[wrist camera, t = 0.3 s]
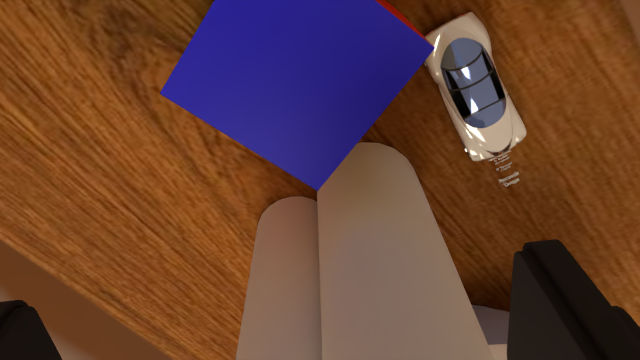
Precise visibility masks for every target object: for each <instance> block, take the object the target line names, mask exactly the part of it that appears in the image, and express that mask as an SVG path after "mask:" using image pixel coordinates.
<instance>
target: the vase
mask: <svg viewBox="0 0 640 360" xmlns="http://www.w3.org/2000/svg"><path fill="white" fill-rule="evenodd" d="M236 360H494V358H493V355H492V353H491V350H490V348H489V346H488V343H487V341H486V339H485V336H484V334H483V332H482V329H481V327H480V324H479V322H478V320H477V317H476V315H475V313H474V310H473V308H472V305H471V303H470V301H469V298H468V296H467V294H466V291H465V289H464V286H463V284H462V282H461V279H460V277H459V275H458V272H457V270H456V267H455V265H454V263H453V260H452V258H451V256H450V253H449V251H448V248H447V246H446V244H445V241H444V239H443V237H442V234H441V232H440V229H439V227H438V225H437V222H436V220H435V218H434V215H433V213H432V211H431V208H430V206H429V203H428V201H427V199H426V196H425V194H424V192H423V189H422V187H421V184H420V182H419V180H418V177H417V175H416V173H415V170H414V168H413V167H412V165H411V164H410V162H409V161H408V159H407V158H406V157H405V156H404V155H402V154H401V153H400V152H398V151H397V150H396V149H394V148H392V147H389V146H386V145H383V144H381V143H369V142H361V143H357V144H356V145H355V146H354V148H353V149H352V150H351V151H350V153H349V154H348V155H347V156H346V157H345V159H344V160H343V161H342V162H341V163H340V165H339V166H338V167H337V168H336V170H335V171H334V172H333V173H332V174H331V176H330V177H329V178H328V179H327V181H326V182H325V183H324V184H323V185H322V187H321V188H320V189H319V190H318V191H317V202H316V201H314V200H313V199H310V198H306V197H302V196H295V197H287V198H284V199H281V200H278V201H276V202H275V203H273V204H272V205H270V206H269V207H268V208H267V209H266V210H265V211H264V212H263V214H262V215H261V218H260V220H259V222H258V227H257V233H256V239H255V245H254V251H253V257H252V263H251V269H250V275H249V281H248V287H247V294H246V300H245V306H244V312H243V318H242V324H241V330H240V336H239V342H238V348H237V354H236Z"/></svg>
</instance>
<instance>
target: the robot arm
mask: <svg viewBox="0 0 640 360" xmlns="http://www.w3.org/2000/svg"><path fill="white" fill-rule="evenodd" d="M0 360H62V358H61V356H60V354H59V353H58V351H57V349H56V347H55V345H54V343H53V341H52V340H51V337H50V336H49V334H48V332H47V330H46V328H45V326H44V324H43V322H42V321H41V319H40V317H39V315H38V313H37V311H36V310H35V308H33V307H30V306H28V305H27V303H26V302H24V301H22V300H14V301H6V302H0ZM507 360H640V327H639V326H638V325H637V324H636V322H635V321H634V320H633V319H632V317H631V316H630V315H629V314H628V313H627V312H626V311H625V310H624V309H622V308H620V307H618V306H611V305H610V304H609V302H608V301H607V300H606V298H605V297H604V296H603V295H602V293H601V292H600V291H599V289H598V288H597V287H596V286H595V284H594V283H593V282H592V281H591V279H590V278H589V277H588V275H587V274H586V273H585V272H584V270H583V269H582V268H581V267H580V265H579V264H578V263H577V261H576V260H575V259H574V258H573V256H572V255H571V254H570V253H569V251H568V250H567V249H566V247H565V246H564V245H563V244H562V243H561V242H560V241H559V240H557V239H554V240H545V241H536V242H527V243H525V244H524V246H523V250H522V251H517V252H515V254H514V260H513V273H512V287H511V300H510V313H509V327H508V340H507Z"/></svg>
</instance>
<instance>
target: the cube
mask: <svg viewBox="0 0 640 360" xmlns="http://www.w3.org/2000/svg"><path fill="white" fill-rule="evenodd" d="M434 49H435V47H434V46H433V45H432V44H431V43H430V42H429V41H428V40H427V39H426V38H425V37H424V36H423V35H422V34H421V33H420V32H419V31H418V30H417V29H416V28H415V27H414V26H413V25H412V24H411V23H410V22H409V21H408V20H407V19H406V17H405V16H404V15H403V14H402V13H400V12H399V11H398V10H397V9H395V8H394V7H393V6H392V5H390V4H389V3H388V2H387V1H385V0H215V1H214V2H213V4H212V6H211V7H210V9H209V11H208V12H207V14H206V16H205V18H204V19H203V21H202V23H201V24H200V26H199V28H198V29H197V31H196V33H195V34H194V36H193V38H192V40H191V41H190V43H189V45H188V46H187V48H186V50H185V51H184V53H183V55H182V57H181V58H180V60H179V62H178V63H177V65H176V67H175V68H174V70H173V72H172V74H171V75H170V77H169V79H168V80H167V82H166V84H165V85H164V87H163V89H162V90H161V92H160V94H161V95H163V96H164V97H166V98H168V99H169V100H171V101H173V102H174V103H176V104H177V105H179V106H181V107H182V108H184V109H185V110H187V111H189V112H190V113H192V114H194V115H195V116H197V117H198V118H200V119H202V120H203V121H205V122H207V123H208V124H210V125H211V126H213V127H215V128H216V129H218V130H220V131H221V132H223V133H224V134H226V135H228V136H229V137H231V138H233V139H234V140H236V141H237V142H239V143H241V144H242V145H244V146H245V147H247V148H249V149H250V150H252V151H254V152H255V153H257V154H258V155H260V156H262V157H263V158H265V159H267V160H268V161H270V162H271V163H273V164H275V165H276V166H278V167H280V168H281V169H283V170H284V171H286V172H288V173H289V174H291V175H293V176H294V177H296V178H297V179H299V180H301V181H302V182H304V183H305V184H307V185H309V186H310V187H312V188H314V189H315V190H317V191H318V190H319V189H320V188H321V187H322V185H323V184H324V183H325V182H326V181H327V179H328V178H329V177H330V176H331V174H332V173H333V172H334V171H335V170H336V168H337V167H338V166H339V165H340V163H341V162H342V161H343V160H344V159H345V157H346V156H347V155H348V154H349V153H350V151H351V150H352V149H353V148H354V146H355V145H356V144H357V143H358V142H359V140H360V139H361V138H362V137H363V135H364V134H365V133H366V132H367V131H368V129H369V128H370V127H371V126H372V125H373V123H374V122H375V121H376V120H377V118H378V117H379V116H380V115H381V114H382V112H383V111H384V110H385V109H386V108H387V106H388V105H389V104H390V103H391V101H392V100H393V99H394V98H395V97H396V95H397V94H398V93H399V92H400V90H401V89H402V88H403V87H404V86H405V84H406V83H407V82H408V81H409V80H410V78H411V77H412V76H413V75H414V73H415V72H416V71H417V70H418V69H419V67H420V66H421V65H422V64H423V62H424V61H425V60H426V59H427V58H428V56H429V55H430V54H431V53H432V52H433V50H434Z"/></svg>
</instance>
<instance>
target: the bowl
mask: <svg viewBox="0 0 640 360" xmlns="http://www.w3.org/2000/svg"><path fill="white" fill-rule="evenodd" d="M472 308H473V310H474V313H475V315H476V317H477V320H478V322H479V324H480V327H481V329H482V332H483V334H484V336H485V339H486V341H487V343H488V346H489V348H490V350H491V353H492V355H493V358H494V360H507V340H508V327H509V313H510V312H508V311H504V310H496V309H492V308H489V307H485V306H477V305H472Z"/></svg>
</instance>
